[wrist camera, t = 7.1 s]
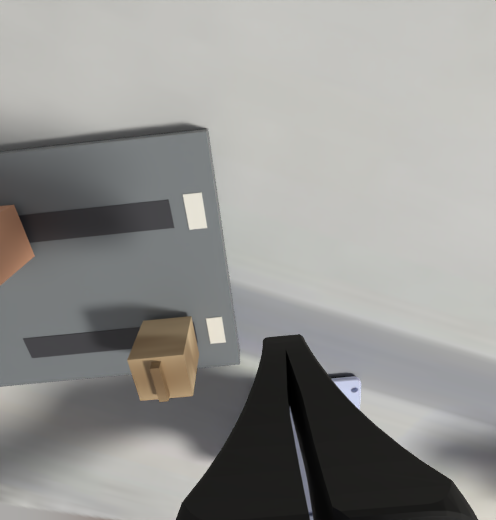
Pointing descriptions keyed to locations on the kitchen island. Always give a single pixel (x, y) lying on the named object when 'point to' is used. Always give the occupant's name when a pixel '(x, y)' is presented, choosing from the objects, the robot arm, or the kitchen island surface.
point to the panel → (113, 255)
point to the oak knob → (164, 359)
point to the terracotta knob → (12, 243)
